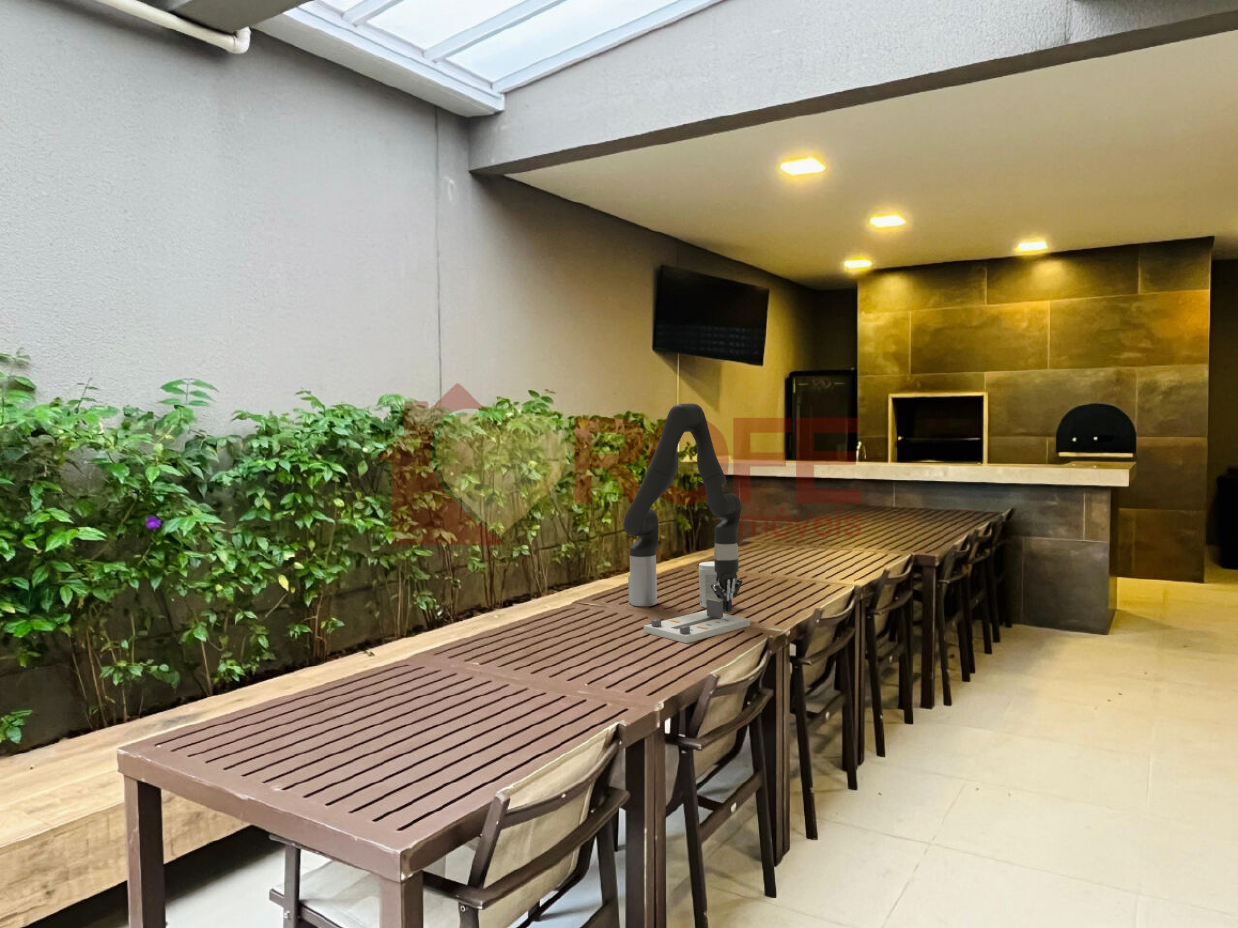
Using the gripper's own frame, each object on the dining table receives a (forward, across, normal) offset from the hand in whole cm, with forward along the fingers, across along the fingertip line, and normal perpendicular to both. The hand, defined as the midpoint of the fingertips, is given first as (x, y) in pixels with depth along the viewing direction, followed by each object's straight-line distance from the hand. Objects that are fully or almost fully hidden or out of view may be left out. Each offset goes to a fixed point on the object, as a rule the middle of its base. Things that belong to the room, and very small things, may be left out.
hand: (727, 611), depth 260 cm
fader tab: (+1, +6, 0) cm, 6 cm away
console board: (+3, +14, 0) cm, 14 cm away
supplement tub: (+3, -12, -17) cm, 21 cm away
